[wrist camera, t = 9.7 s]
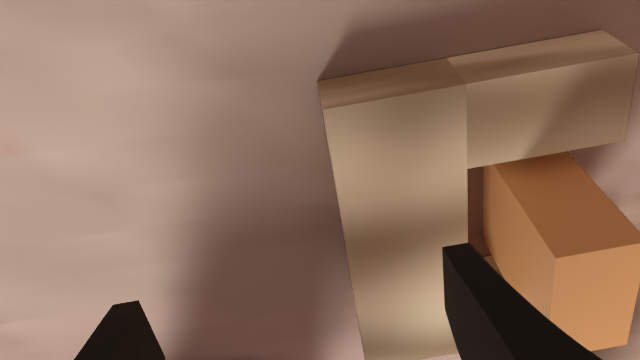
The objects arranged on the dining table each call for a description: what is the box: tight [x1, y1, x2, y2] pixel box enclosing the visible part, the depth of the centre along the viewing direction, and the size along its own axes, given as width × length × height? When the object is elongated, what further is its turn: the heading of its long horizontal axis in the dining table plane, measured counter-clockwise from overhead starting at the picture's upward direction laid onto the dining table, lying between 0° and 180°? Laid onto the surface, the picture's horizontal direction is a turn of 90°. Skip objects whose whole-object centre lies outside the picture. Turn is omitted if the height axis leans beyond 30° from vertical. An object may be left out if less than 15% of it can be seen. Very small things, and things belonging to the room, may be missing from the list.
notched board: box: [317, 30, 639, 360], centre depth 24 cm, size 14×11×2 cm
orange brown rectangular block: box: [484, 151, 640, 351], centre depth 22 cm, size 5×3×7 cm, turn 9°
